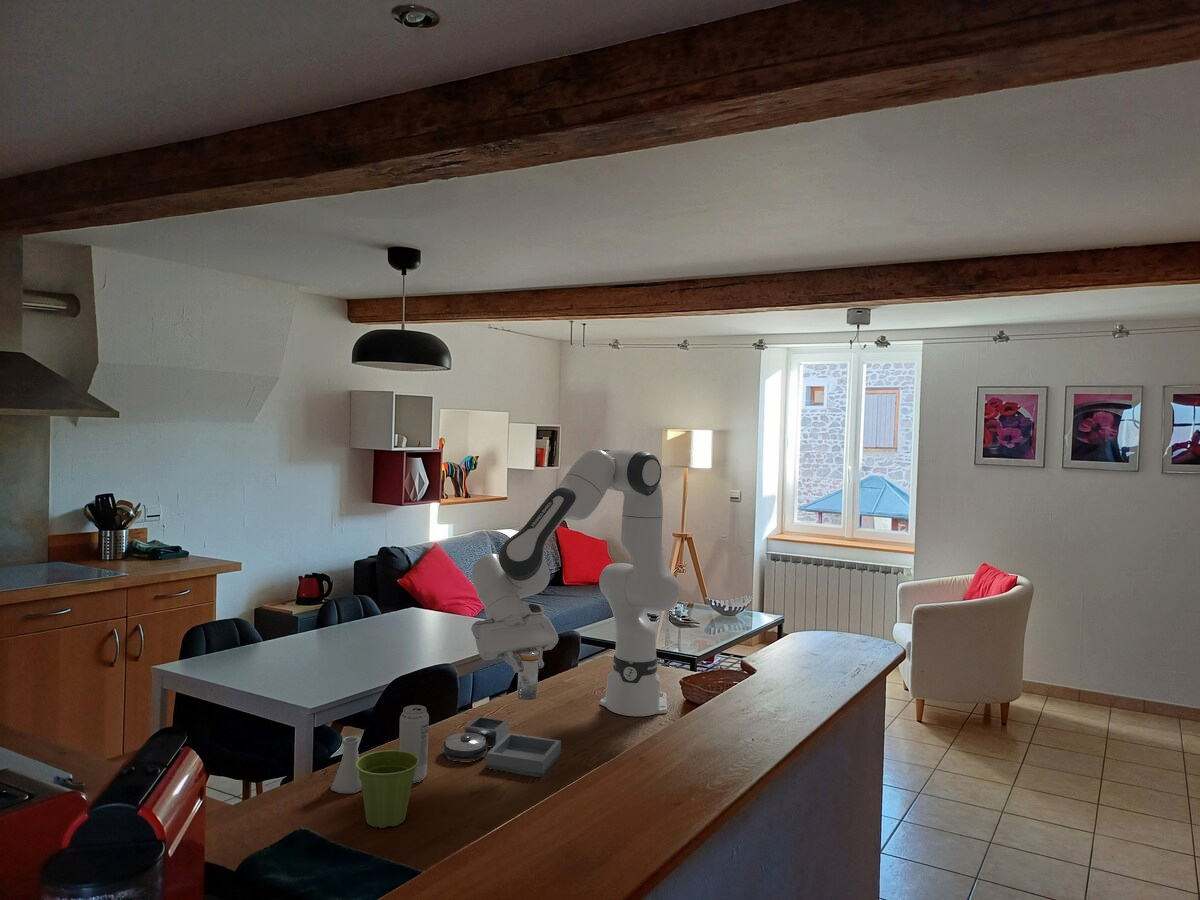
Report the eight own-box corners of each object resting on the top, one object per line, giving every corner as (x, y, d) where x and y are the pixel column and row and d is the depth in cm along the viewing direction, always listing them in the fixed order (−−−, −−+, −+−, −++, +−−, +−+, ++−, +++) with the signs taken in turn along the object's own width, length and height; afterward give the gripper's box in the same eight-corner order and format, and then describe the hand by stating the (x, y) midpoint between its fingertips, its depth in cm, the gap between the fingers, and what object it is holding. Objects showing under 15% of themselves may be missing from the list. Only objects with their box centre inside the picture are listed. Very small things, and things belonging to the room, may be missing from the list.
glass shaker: (521, 692, 189) (523, 649, 189) (539, 694, 188) (541, 651, 187) (514, 698, 184) (516, 654, 184) (533, 701, 183) (535, 656, 183)
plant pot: (422, 806, 163) (424, 749, 162) (410, 836, 151) (413, 775, 150) (361, 804, 162) (364, 748, 162) (345, 834, 150) (347, 773, 150)
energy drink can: (401, 772, 178) (404, 703, 178) (429, 773, 178) (432, 704, 177) (393, 784, 172) (396, 712, 172) (422, 785, 172) (425, 714, 171)
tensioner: (470, 730, 204) (470, 714, 204) (508, 736, 201) (508, 719, 201) (435, 759, 185) (436, 741, 185) (476, 766, 183) (477, 747, 183)
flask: (356, 797, 165) (358, 747, 165) (323, 792, 167) (325, 743, 167) (373, 782, 173) (375, 734, 172) (341, 777, 174) (343, 730, 174)
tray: (507, 747, 194) (508, 732, 194) (560, 755, 191) (561, 740, 191) (486, 768, 182) (486, 753, 182) (542, 777, 178) (542, 761, 178)
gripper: (474, 614, 184) (496, 668, 177) (548, 605, 197) (571, 655, 190) (463, 630, 188) (484, 684, 180) (536, 619, 201) (559, 669, 194)
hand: (529, 669), depth 185 cm, fingers closed on glass shaker, 4 cm apart
